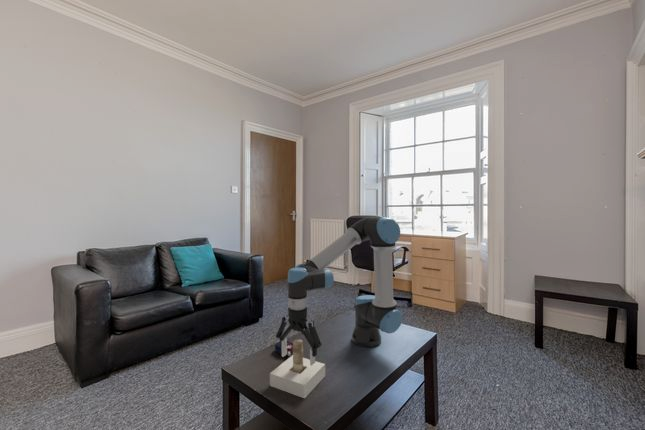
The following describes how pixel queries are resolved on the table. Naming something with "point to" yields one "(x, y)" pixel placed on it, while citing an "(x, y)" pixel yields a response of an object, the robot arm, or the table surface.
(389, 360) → the table surface
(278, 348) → the figurine
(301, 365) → the dowel
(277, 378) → the socket block
